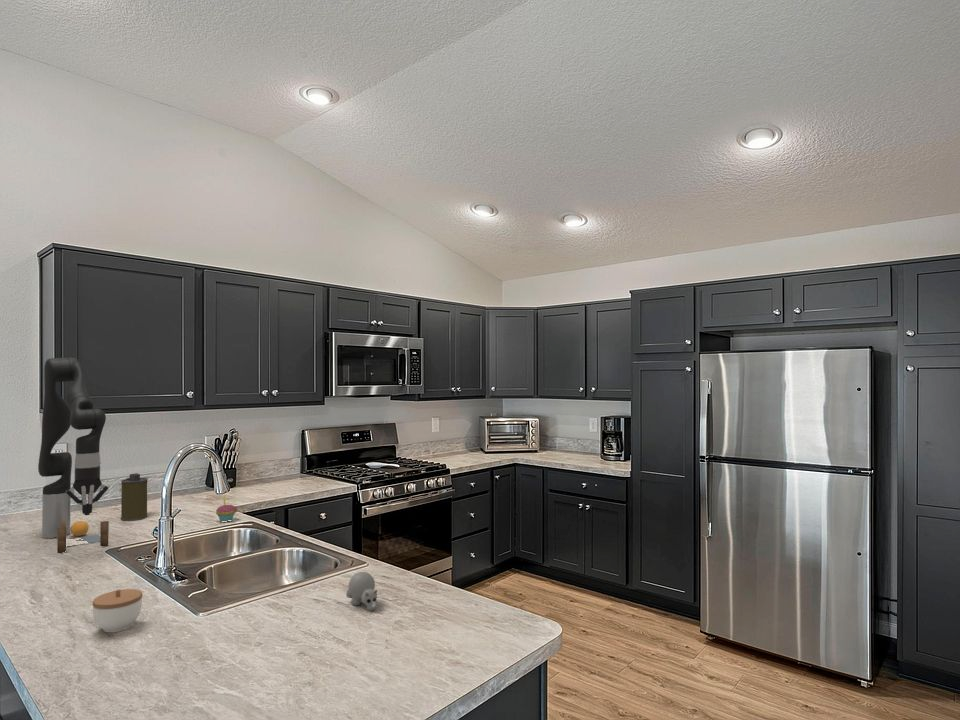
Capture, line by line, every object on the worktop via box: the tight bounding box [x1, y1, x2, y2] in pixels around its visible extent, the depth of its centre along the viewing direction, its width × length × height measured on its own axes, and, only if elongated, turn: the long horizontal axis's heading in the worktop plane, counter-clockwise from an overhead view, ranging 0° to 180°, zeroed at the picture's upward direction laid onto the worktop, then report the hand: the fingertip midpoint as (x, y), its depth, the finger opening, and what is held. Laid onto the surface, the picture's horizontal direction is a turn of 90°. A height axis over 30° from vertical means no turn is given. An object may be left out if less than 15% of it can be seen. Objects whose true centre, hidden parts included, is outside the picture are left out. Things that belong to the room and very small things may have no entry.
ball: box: [70, 520, 90, 537], centre depth 234 cm, size 6×6×6 cm
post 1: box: [56, 527, 67, 554], centre depth 212 cm, size 3×3×9 cm
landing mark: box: [71, 533, 100, 544], centre depth 227 cm, size 13×13×1 cm
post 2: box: [99, 520, 110, 547], centre depth 220 cm, size 3×3×9 cm
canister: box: [120, 472, 148, 522], centre depth 264 cm, size 11×10×20 cm
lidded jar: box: [92, 588, 143, 634], centre depth 148 cm, size 11×11×9 cm
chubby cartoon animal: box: [345, 571, 378, 612], centre depth 160 cm, size 7×12×8 cm, turn 36°
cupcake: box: [215, 494, 238, 521], centre depth 257 cm, size 9×8×12 cm
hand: (87, 514), depth 206 cm, fingers closed
